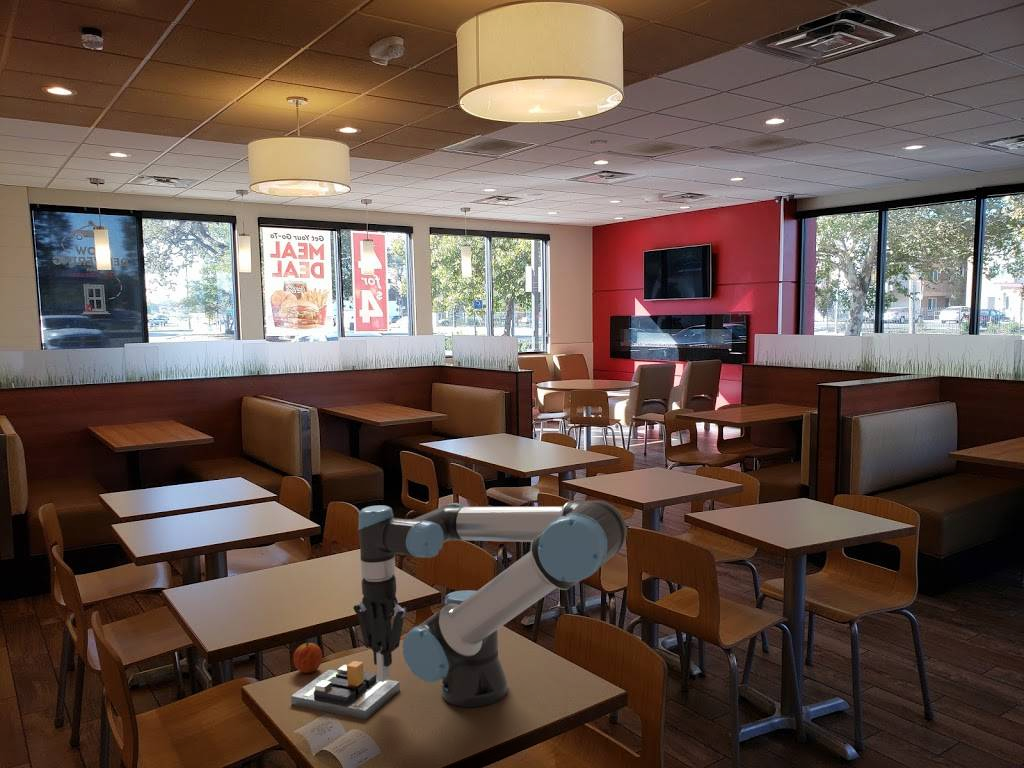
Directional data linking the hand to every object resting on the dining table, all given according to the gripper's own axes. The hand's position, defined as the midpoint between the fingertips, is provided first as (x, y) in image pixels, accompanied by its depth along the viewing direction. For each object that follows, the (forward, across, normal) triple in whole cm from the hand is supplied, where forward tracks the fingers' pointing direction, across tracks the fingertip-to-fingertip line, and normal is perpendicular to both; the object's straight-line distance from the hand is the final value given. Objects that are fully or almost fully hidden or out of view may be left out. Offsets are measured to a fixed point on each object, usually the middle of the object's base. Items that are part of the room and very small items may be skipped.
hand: (383, 678), depth 168 cm
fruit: (+6, +28, -8) cm, 29 cm away
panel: (+6, +10, 0) cm, 12 cm away
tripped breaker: (+2, +8, 0) cm, 8 cm away
